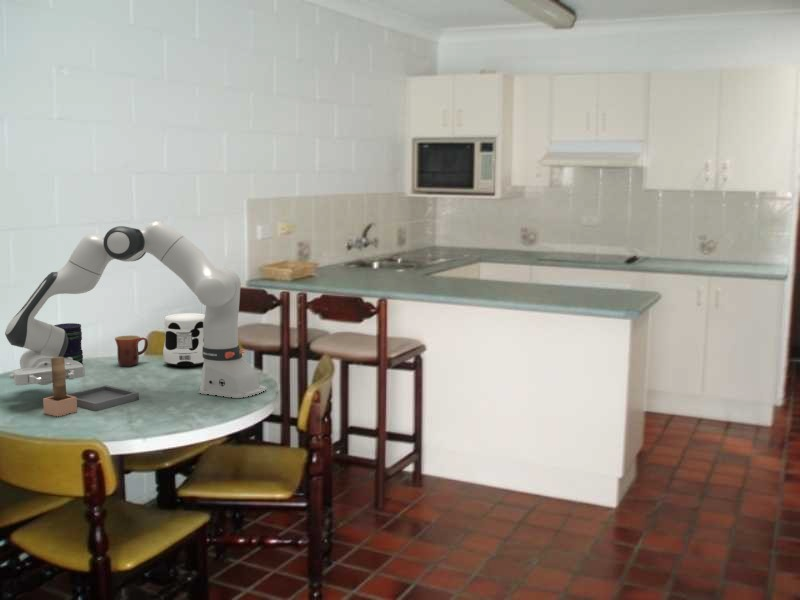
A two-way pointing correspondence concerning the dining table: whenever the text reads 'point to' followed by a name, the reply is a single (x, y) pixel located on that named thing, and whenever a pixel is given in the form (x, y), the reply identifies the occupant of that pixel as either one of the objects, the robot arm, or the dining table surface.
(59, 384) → the dowel
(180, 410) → the dining table surface
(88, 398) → the tray
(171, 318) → the milk container
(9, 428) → the dining table surface
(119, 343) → the mug
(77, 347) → the storage jar
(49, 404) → the pot
